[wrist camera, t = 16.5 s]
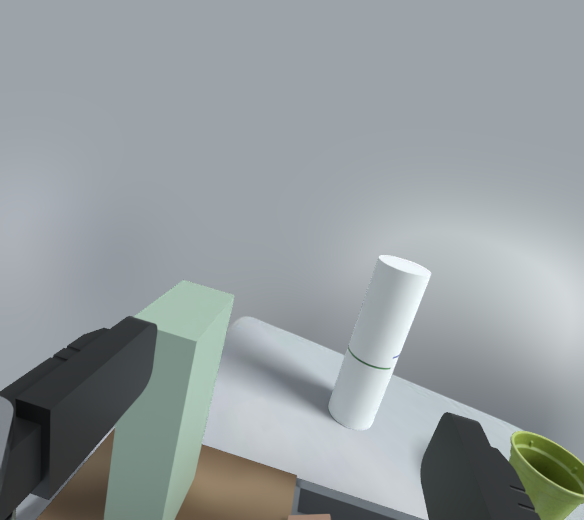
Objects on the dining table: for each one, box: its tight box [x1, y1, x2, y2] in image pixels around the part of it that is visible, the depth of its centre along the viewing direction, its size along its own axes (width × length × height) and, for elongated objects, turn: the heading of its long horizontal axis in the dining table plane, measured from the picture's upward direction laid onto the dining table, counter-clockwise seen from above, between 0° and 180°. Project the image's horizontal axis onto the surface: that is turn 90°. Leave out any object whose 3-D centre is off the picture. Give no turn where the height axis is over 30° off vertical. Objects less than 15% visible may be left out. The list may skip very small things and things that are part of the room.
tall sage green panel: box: [104, 280, 234, 520], centre depth 26 cm, size 7×4×18 cm, turn 172°
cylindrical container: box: [328, 255, 431, 430], centre depth 52 cm, size 7×7×25 cm
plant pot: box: [509, 431, 584, 520], centre depth 45 cm, size 9×9×9 cm
